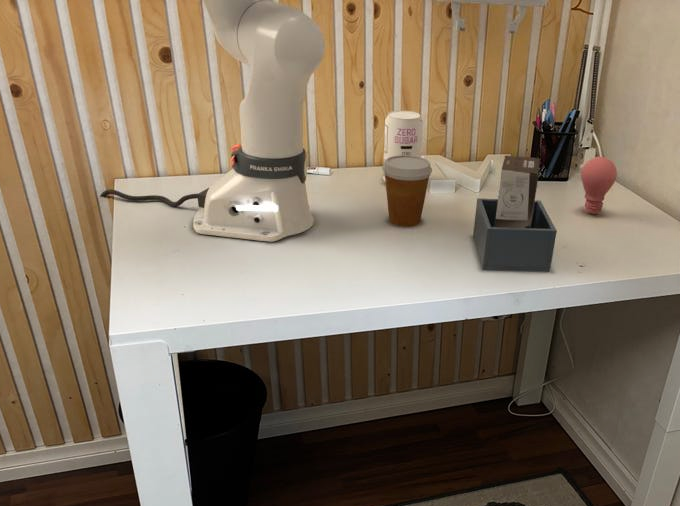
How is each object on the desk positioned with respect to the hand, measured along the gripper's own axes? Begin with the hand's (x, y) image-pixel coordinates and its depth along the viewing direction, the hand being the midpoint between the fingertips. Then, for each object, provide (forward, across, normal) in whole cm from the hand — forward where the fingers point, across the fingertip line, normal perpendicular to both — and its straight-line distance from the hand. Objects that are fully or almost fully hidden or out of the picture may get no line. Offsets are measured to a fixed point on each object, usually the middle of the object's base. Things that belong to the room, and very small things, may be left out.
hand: (486, 32), depth 131 cm
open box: (+35, +6, -17) cm, 39 cm away
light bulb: (+35, +27, +5) cm, 45 cm away
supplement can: (+35, -13, +20) cm, 43 cm away
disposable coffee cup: (+35, -13, -3) cm, 38 cm away
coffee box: (+34, +6, -17) cm, 39 cm away
